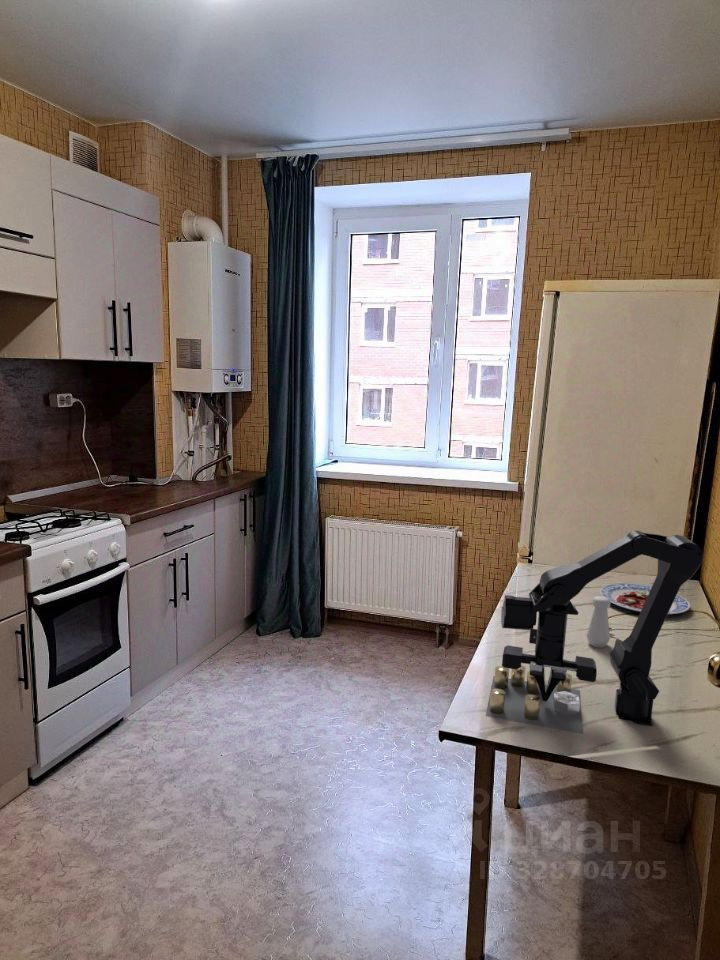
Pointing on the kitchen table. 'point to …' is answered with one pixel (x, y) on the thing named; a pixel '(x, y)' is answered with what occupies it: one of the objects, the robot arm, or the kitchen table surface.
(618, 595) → the ceramic plate
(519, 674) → the brass spacers
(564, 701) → the clear faceted crystal
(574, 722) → the mat
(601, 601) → the salt shaker
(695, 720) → the kitchen table surface
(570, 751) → the kitchen table surface
